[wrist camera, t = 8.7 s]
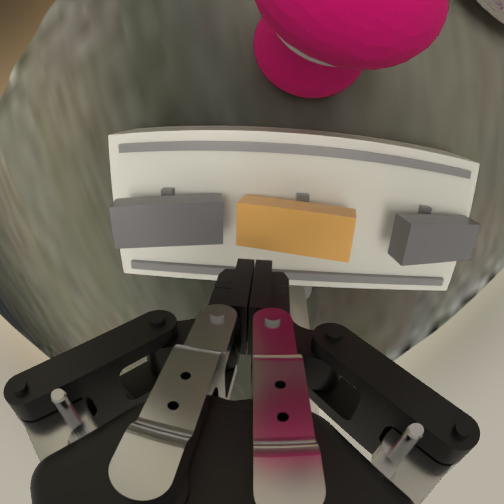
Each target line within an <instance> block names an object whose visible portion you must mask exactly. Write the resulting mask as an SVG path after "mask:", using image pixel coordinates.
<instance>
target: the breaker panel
mask: <svg viewBox="0 0 504 504" xmlns="http://www.w3.org/2000/svg"><path fill="white" fill-rule="evenodd" d="M108 137H109V155H110V169H111V180H112V191H113V200H114V201H115V199H118V198H132V197H148V196H166V195H188V194H217V193H221V195H222V199H223V244H216V245H192V246H169V247H146V248H125V249H120V252H121V258H122V264H123V269H124V273H132V274H143V275H154V276H166V277H178V278H191V279H204V280H217V278H218V275H219V274H220V273H221V272H222V271H223V270H224V269H235V268H236V264H237V261H238V258H241V259H255V262H256V259H259V260H272V271H273V272H284V273H285V274H286V276H287V277H288V278H289V285H299V286H319V287H341V288H367V289H398V290H445V291H447V288H448V285H449V282H450V279H451V276H452V273H453V270H454V267H455V264H456V261H452V262H441V263H430V264H419V265H407V266H401V265H400V264H399V263H398V262H397V261H395V260H394V259H393V258H392V257H391V256H390V255H389V254H388V253H387V252H388V248H389V243H390V239H391V234H392V229H393V224H394V219H395V214H396V213H408V214H441V215H465V216H467V217H469V214H470V210H471V206H472V201H473V197H474V192H475V187H476V182H477V176H478V170H479V164H480V163H477V162H475V161H472V160H470V159H467V158H464V157H462V156H459V155H456V154H454V153H451V152H448V151H443V150H439V149H434V148H430V147H425V146H420V145H415V144H410V143H404V142H399V141H393V140H387V139H381V138H374V137H368V136H361V135H353V134H345V133H337V132H328V131H318V130H307V129H294V128H279V127H260V126H169V127H150V128H136V129H132V130H127V131H123V132H119V133H115V134H111V135H108ZM245 195H254V196H262V197H271V198H279V199H287V200H295V201H303V202H310V203H318V204H325V205H332V206H339V207H345V208H352V209H356V224H355V230H354V236H353V242H352V248H351V253H350V258H349V263H347V262H340V261H334V260H328V259H321V258H315V257H308V256H302V255H295V254H289V253H283V252H276V251H270V250H263V249H257V248H250V247H244V246H237V245H236V211H237V202H238V201H239V200H240V199H241V198H242V197H243V196H245Z"/></svg>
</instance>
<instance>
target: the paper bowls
mask: <svg viewBox="0 0 504 504" xmlns="http://www.w3.org/2000/svg"><path fill="white" fill-rule="evenodd" d="M476 1H477V2H478V3H479V4H480V5H481V6H482V7H483V8H484V9H485V10H486V11H488V12H489V13H490V14H491V15H492V16H493V17H494V18H496V19H497V20H498V21H499V22H501V23H503V24H504V0H476Z"/></svg>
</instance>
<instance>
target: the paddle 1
mask: <svg viewBox="0 0 504 504" xmlns="http://www.w3.org/2000/svg"><path fill="white" fill-rule="evenodd" d="M109 210H110V218H111V225H112V232H113V238H114V245H115V249H125V248H146V247H169V246H192V245H216V244H223V199H222V195H221V193H217V194H188V195H166V196H148V197H132V198H118V199H115V201H114V202H113V203H112V204H111V206H110V207H109Z"/></svg>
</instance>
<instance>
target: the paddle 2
mask: <svg viewBox="0 0 504 504" xmlns="http://www.w3.org/2000/svg"><path fill="white" fill-rule="evenodd" d="M479 229H480V224H479V223H477V222H475V221H474V220H472V219H470V218H469V217H467V216H465V215H441V214H408V213H396V214H395V219H394V224H393V229H392V234H391V239H390V243H389V248H388V252H387V253H388V254H389V255H390V256H391V257H392V258H393V259H394V260H395V261H397V262H398V263H399V264H400V265H401V266H407V265H419V264H430V263H441V262H452V261H462V260H470V259H471V256H472V253H473V250H474V247H475V243H476V240H477V236H478V233H479Z"/></svg>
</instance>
